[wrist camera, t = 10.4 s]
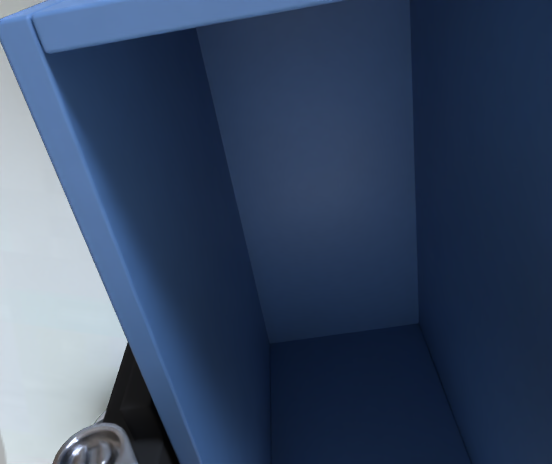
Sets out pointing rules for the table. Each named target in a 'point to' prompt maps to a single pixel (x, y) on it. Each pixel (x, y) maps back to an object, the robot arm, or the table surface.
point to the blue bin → (314, 216)
